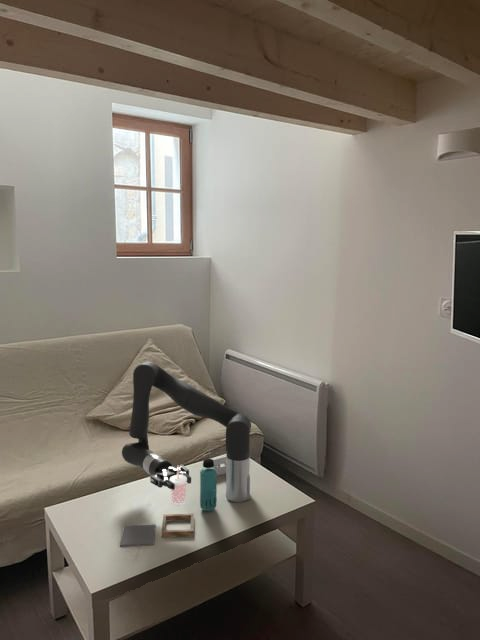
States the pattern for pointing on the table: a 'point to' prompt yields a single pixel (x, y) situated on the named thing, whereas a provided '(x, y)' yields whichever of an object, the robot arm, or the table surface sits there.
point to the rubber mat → (138, 535)
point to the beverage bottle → (208, 485)
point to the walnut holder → (177, 532)
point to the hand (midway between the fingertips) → (182, 483)
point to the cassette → (217, 466)
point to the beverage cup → (178, 489)
